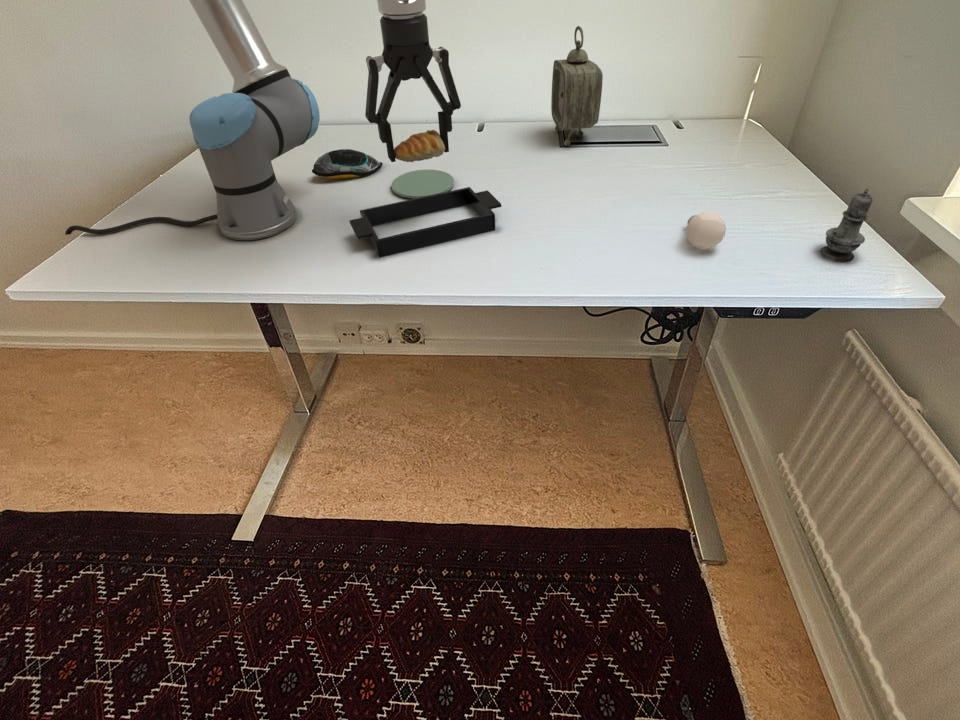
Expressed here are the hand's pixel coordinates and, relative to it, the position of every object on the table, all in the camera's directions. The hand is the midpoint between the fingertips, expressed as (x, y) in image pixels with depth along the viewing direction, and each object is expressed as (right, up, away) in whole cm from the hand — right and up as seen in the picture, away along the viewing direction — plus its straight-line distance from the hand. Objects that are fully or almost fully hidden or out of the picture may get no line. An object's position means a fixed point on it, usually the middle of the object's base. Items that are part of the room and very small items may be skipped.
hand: (418, 154), depth 100 cm
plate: (-1, +1, +21) cm, 21 cm away
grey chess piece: (+74, -20, -6) cm, 77 cm away
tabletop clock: (+36, +19, +39) cm, 56 cm away
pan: (+1, -12, +6) cm, 14 cm away
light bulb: (+52, -17, -1) cm, 55 cm away
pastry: (+1, 0, 0) cm, 1 cm away
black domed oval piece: (-20, +6, +28) cm, 35 cm away
